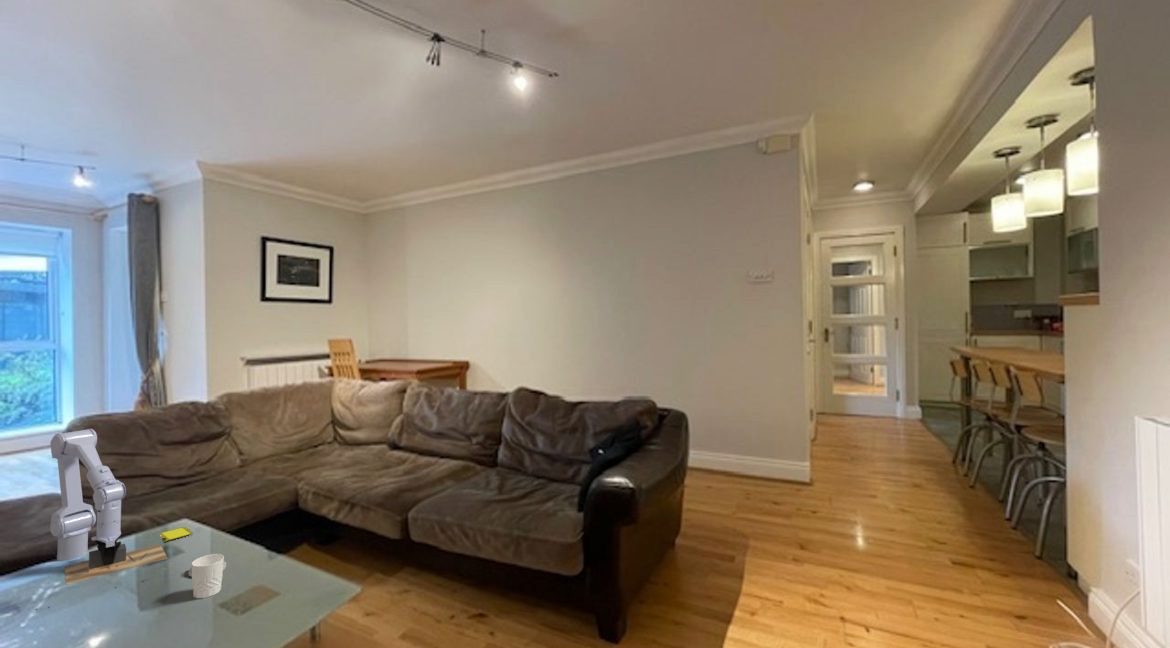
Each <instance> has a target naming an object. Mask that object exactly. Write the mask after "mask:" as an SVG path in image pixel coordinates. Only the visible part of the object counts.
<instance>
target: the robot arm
mask: <svg viewBox="0 0 1170 648" xmlns="http://www.w3.org/2000/svg"><path fill="white" fill-rule="evenodd" d="M97 442H98V434H97V432H96V431H95V429H93V428H87V429H83V430H76V431H69V432H62V433H61V432H60V433H56V434H54V435H53V437H52V439H51V440H50V453H51V458H52V459H57V467H58V479H59V488H60V497H61V507H60V508H59V509H58V510H56V511H55V512H54V513H53V514H52V515H51V519H50V520H51V521H50V526H49V529H50V533H51V535H52V536H53V537H55V538H57V555H56V556H55V558H56V559H57V561H59V562H65V561H66V562H67V561H72V560H76V559H79V558H82V557H85V556H86V555H87V554H88V553H89V551H88V550H89V547H88V544H89V542H88V541H89V531H91V529H92V527H94V525H95V524H96V535H94V536H92V537H91V541H95V543H96V544H97V546H96V548H97V550H99V551H100V553H101V555H102V560H103V564H104V566H107V565H111V564H113V562H114V559H115V555H116V552H117V550H118V548H119V546H120V545H121V544H122V541H121V540H120V541H118V539H119V538H120V536H121V535H122V531H121V529H122V528H121V524H122V523H121V521H122V500H123V499H125V498H126V495H127V488H126V486H125V484H124V483H123V482H121V481H120V480H119V479H116V478H115V476H114V473H113V472H112V471H111V469H110V467H109V466H107V465H103V463H102V461H101V459H100V456H99V454H98V451H97V449H96V446H97V444H98V443H97ZM79 460H80V461H81V463H82V464H83V466H84V467H85V468H86V469H87V474H86V476H85V477H86V478H87V480H88V482H89V484H90V486H91V488H92V489H93V495H92V499H93V502H94V507H93V505H91V504H88V503H85V502H84V501H83V499H84V498H83V489H82V479H81V472H80V461H79ZM94 508H95V510H97V512H96V513H97V514H96V513H95V511H94Z"/></svg>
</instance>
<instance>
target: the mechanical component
mask: <svg viewBox="0 0 1170 648" xmlns="http://www.w3.org/2000/svg"><path fill="white" fill-rule="evenodd" d="M213 554H214V553H212V554H211V553H209V554H206V555H205V556H207V555H213ZM219 554H220V555H222V554H221V553H219ZM203 556H204V555H202V556H199V557H197V558H196V559H198V558H200V557H203ZM226 568H227V562H226V561H225V560H224V563H223V571H224V570H225V569H226ZM187 573H188V574H189V575H188V574H187V575H188V577H189V576H191V577H192V567H191V568H189V570H188V572H187ZM191 577H190V578H191Z"/></svg>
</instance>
